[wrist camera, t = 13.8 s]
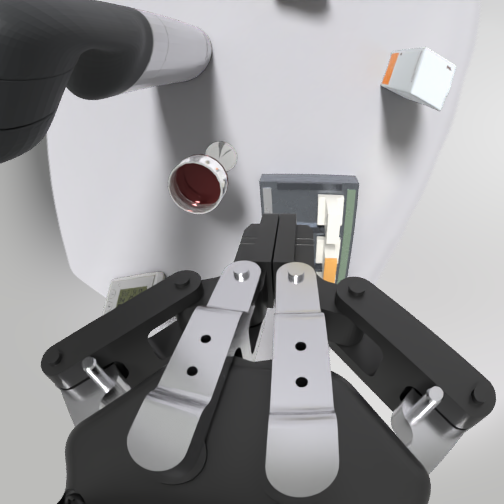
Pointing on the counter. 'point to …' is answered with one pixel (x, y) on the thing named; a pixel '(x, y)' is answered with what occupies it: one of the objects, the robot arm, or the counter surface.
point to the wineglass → (202, 178)
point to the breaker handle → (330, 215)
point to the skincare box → (419, 76)
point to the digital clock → (129, 288)
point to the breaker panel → (313, 206)
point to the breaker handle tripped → (327, 257)
